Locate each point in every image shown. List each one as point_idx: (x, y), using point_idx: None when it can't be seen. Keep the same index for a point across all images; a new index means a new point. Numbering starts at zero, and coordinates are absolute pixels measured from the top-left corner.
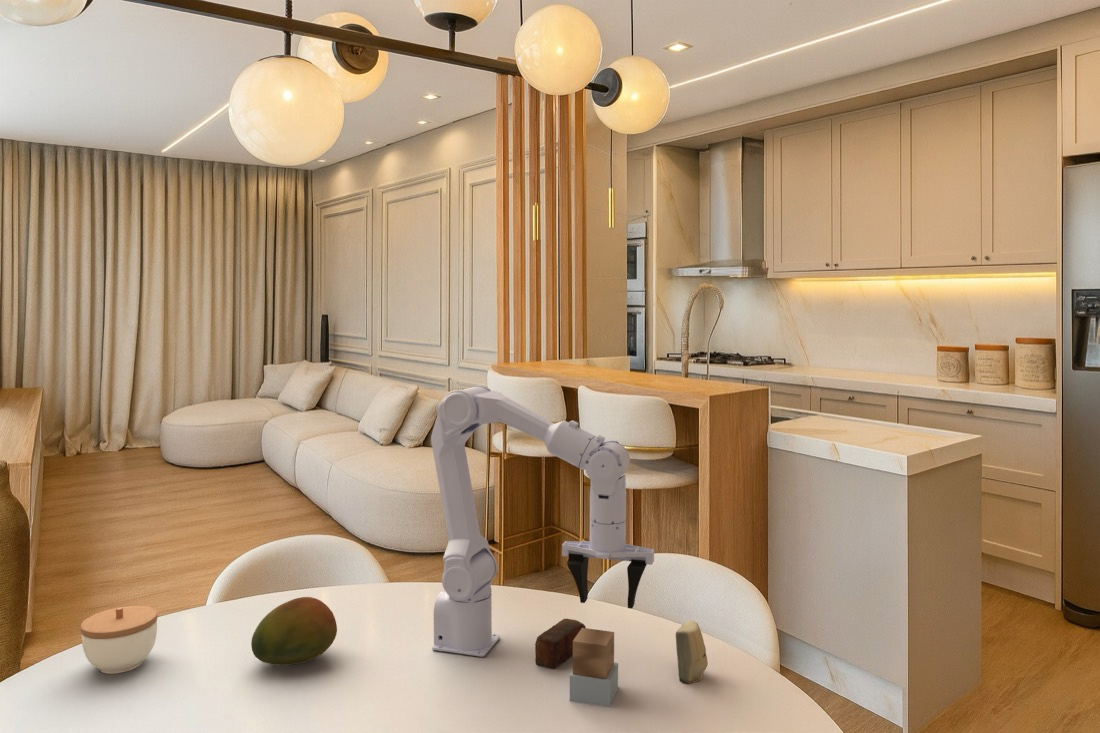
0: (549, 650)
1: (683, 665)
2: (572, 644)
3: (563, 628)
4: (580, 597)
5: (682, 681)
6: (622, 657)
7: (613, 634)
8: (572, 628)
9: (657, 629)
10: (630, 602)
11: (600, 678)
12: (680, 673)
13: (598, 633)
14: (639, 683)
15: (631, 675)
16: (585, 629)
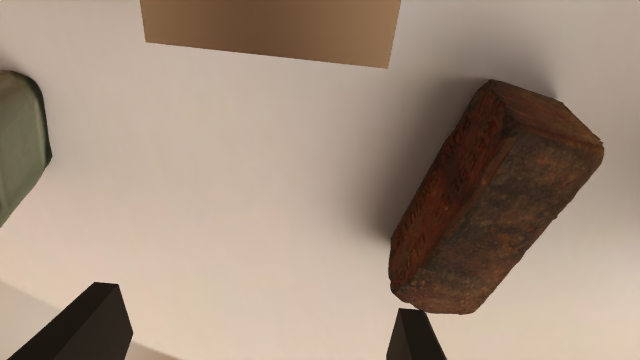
0: (529, 112)
1: None
2: (429, 203)
3: (477, 246)
4: (431, 337)
5: (22, 75)
6: (261, 196)
7: (146, 17)
8: (439, 252)
9: (209, 336)
10: (72, 309)
11: None
12: (11, 87)
13: None
14: None
15: (202, 90)
16: (359, 41)
